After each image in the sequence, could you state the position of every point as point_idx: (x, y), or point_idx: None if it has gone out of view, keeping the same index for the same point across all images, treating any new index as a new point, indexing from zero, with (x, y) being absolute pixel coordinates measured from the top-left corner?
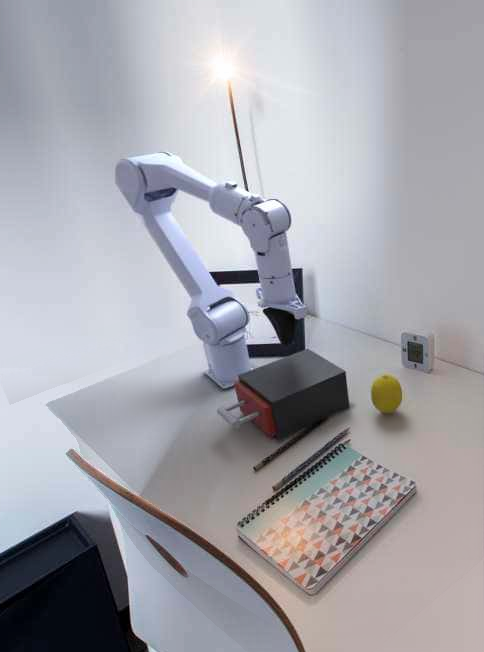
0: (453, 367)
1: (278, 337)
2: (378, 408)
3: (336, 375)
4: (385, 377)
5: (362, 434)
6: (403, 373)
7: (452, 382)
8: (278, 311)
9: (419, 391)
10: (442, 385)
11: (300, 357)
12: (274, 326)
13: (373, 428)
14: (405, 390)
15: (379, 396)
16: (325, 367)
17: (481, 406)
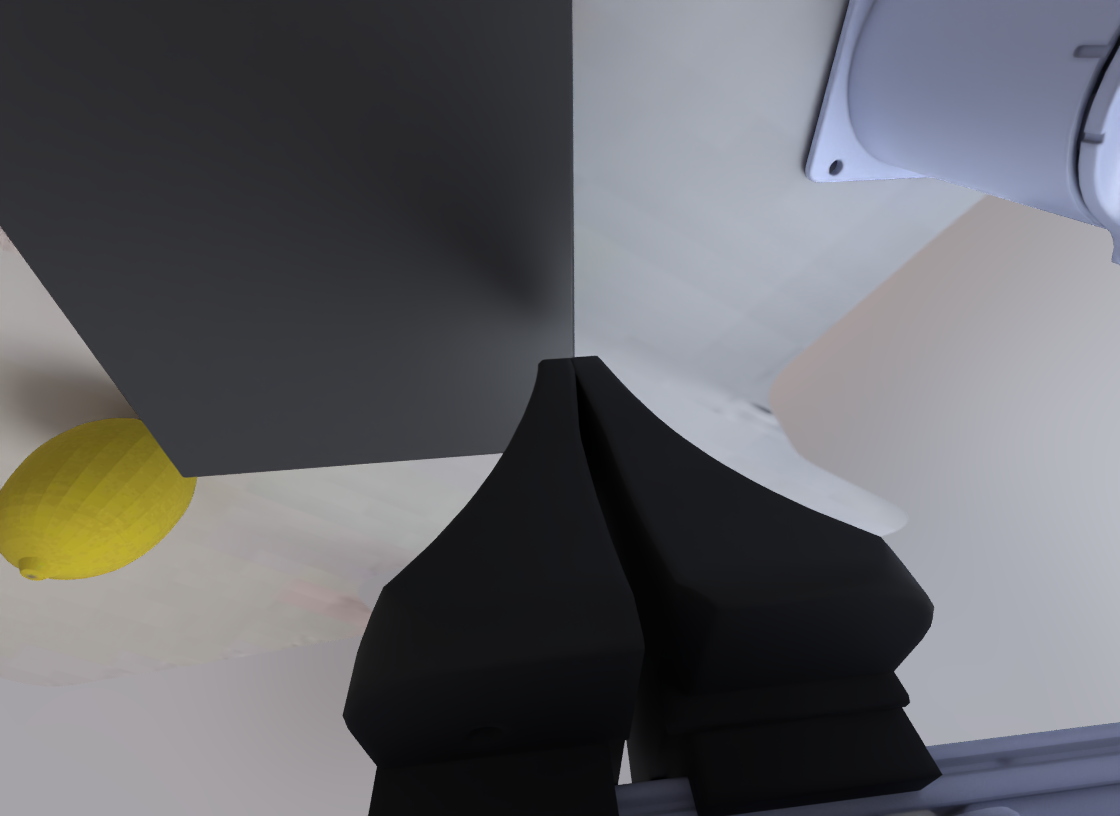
0: (356, 634)
1: (603, 380)
2: (85, 423)
3: (148, 428)
4: (19, 567)
5: (14, 292)
6: (403, 556)
7: (277, 608)
8: (533, 739)
9: (269, 543)
10: (274, 589)
11: (498, 377)
12: (635, 448)
13: (57, 346)
14: (297, 522)
15: (16, 472)
16: (280, 425)
17: (109, 602)
